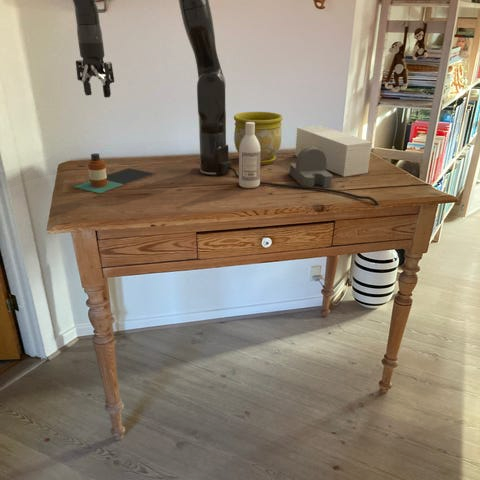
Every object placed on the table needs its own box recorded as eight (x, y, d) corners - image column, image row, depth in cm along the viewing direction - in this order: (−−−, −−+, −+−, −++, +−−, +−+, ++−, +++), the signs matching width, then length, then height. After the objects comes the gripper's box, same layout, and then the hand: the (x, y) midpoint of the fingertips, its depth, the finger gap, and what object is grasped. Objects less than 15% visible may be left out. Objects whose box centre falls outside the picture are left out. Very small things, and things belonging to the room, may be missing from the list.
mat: (153, 174, 185) (153, 173, 185) (99, 193, 166) (99, 192, 166) (128, 169, 190) (128, 168, 190) (73, 187, 172) (73, 186, 172)
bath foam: (263, 187, 173) (265, 123, 163) (244, 189, 170) (245, 125, 160) (253, 181, 178) (254, 119, 168) (235, 183, 176) (235, 121, 165)
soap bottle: (111, 184, 174) (107, 153, 169) (99, 188, 170) (94, 157, 165) (99, 181, 176) (95, 151, 171) (87, 185, 172) (82, 154, 167)
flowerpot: (272, 169, 191) (274, 122, 182) (227, 164, 196) (226, 118, 188) (286, 157, 205) (288, 113, 197) (243, 153, 211) (243, 110, 202)
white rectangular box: (367, 173, 187) (372, 142, 182) (343, 176, 183) (347, 145, 178) (317, 152, 212) (319, 125, 206) (295, 155, 208) (296, 127, 202)
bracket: (305, 188, 172) (307, 155, 166) (288, 173, 187) (290, 142, 181) (332, 186, 174) (335, 153, 168) (314, 171, 188) (316, 141, 183)
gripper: (115, 41, 164) (121, 96, 172) (83, 39, 170) (90, 92, 179) (98, 42, 158) (105, 99, 167) (65, 40, 165) (74, 95, 173)
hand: (97, 96), depth 173 cm, fingers open, 8 cm apart
